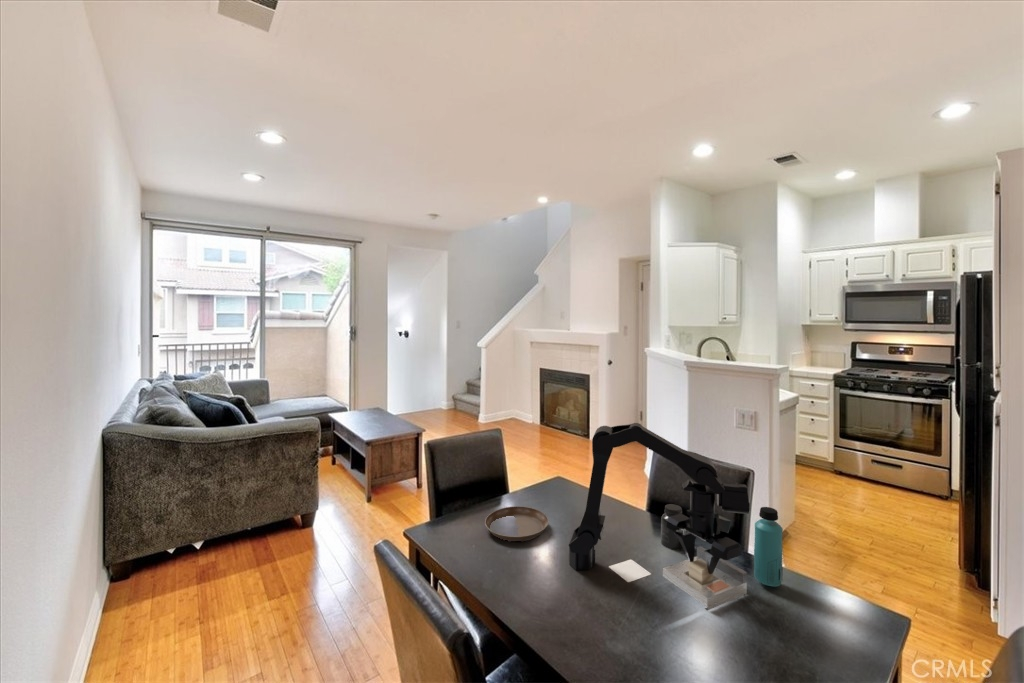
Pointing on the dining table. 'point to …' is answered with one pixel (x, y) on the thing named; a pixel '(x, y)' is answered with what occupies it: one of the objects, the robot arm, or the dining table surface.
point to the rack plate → (722, 589)
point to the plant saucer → (520, 522)
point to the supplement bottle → (668, 535)
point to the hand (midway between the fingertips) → (701, 567)
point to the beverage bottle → (768, 548)
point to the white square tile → (629, 570)
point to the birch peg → (700, 572)
